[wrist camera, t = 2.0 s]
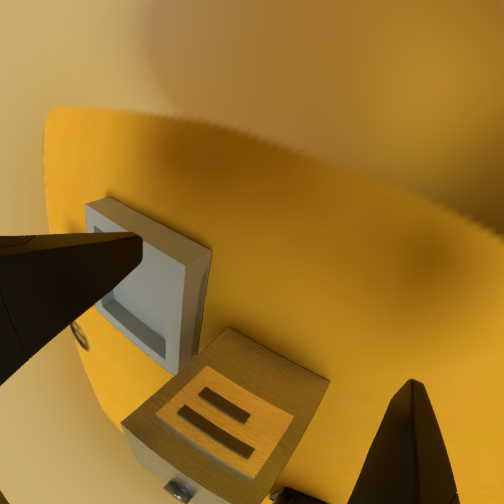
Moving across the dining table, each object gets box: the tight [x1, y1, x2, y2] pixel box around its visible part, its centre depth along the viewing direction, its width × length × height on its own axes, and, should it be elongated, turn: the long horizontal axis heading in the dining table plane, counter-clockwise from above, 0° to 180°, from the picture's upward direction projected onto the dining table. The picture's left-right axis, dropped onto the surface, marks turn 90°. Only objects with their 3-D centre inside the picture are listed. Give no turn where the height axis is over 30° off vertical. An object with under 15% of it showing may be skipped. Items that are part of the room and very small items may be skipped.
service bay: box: [85, 197, 212, 376], centre depth 19 cm, size 10×10×2 cm
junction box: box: [121, 327, 330, 504], centre depth 14 cm, size 8×7×10 cm
